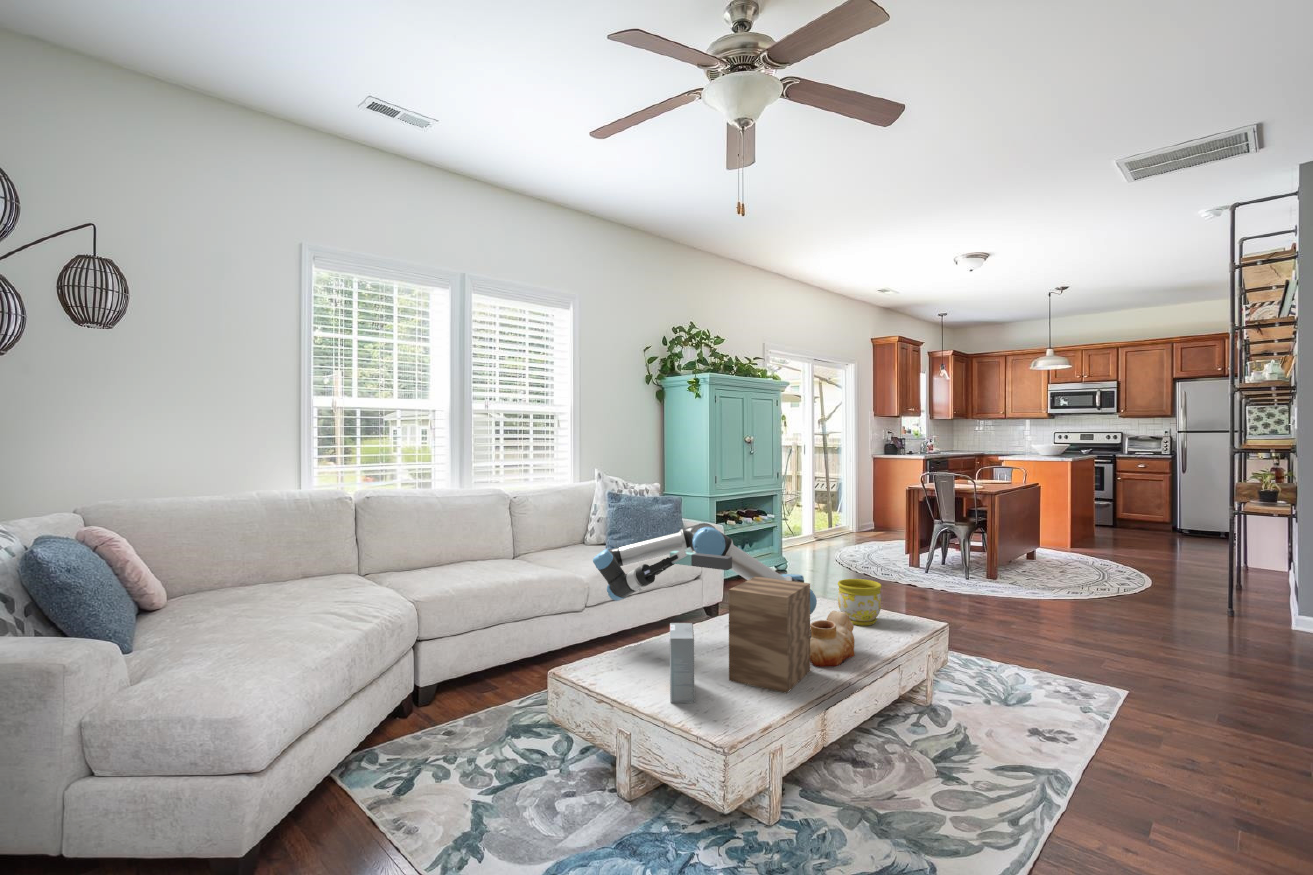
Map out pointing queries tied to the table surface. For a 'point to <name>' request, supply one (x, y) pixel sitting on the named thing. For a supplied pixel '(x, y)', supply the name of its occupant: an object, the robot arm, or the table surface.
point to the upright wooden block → (769, 633)
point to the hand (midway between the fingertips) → (688, 551)
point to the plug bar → (705, 560)
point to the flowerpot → (860, 600)
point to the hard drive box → (681, 663)
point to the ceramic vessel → (831, 640)
